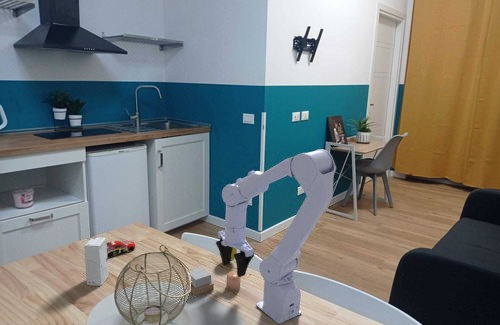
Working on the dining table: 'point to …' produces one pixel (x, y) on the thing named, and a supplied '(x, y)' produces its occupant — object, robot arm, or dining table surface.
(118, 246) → the race car
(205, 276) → the grey slab
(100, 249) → the skincare box
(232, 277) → the copper rounded cylinder
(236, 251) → the lemon
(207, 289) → the walnut slab
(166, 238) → the dining table surface
